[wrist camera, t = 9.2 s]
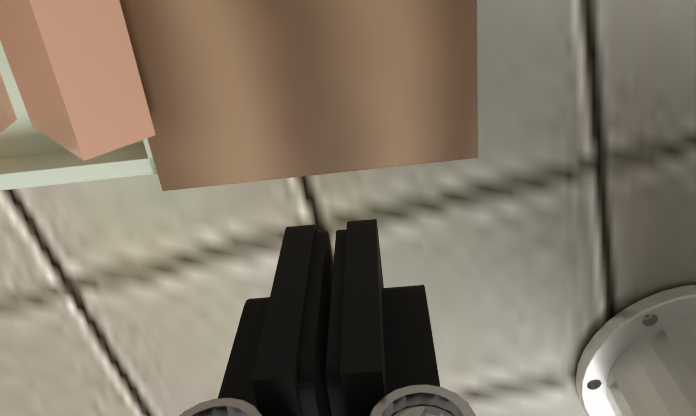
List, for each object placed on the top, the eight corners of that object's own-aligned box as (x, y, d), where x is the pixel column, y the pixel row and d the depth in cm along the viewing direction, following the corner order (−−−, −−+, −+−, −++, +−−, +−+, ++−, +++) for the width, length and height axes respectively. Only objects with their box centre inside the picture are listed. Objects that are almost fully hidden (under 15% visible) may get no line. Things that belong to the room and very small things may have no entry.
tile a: (113, -20, 22) (28, -3, 20) (155, 135, 25) (84, 161, 23) (55, -28, 26) (-20, -14, 24) (96, 106, 29) (32, 126, 27)
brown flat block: (456, -131, 25) (475, -130, 21) (461, 123, 30) (477, 157, 26) (118, -87, 25) (82, -80, 22) (183, 153, 31) (162, 190, 27)
